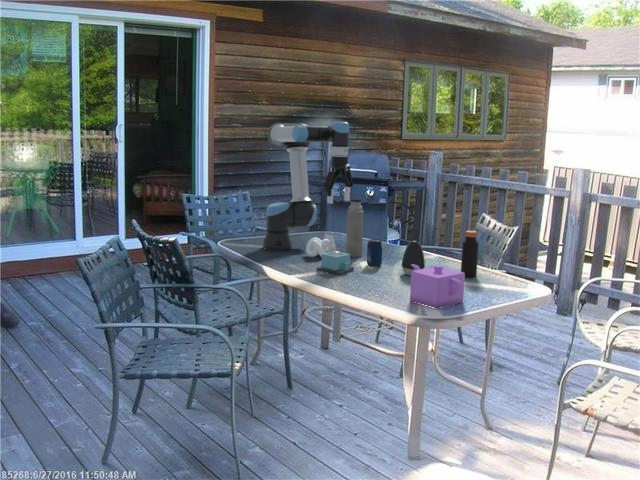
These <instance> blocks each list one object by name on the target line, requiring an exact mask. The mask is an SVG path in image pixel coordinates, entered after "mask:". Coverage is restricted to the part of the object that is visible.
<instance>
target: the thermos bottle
mask: <svg viewBox="0 0 640 480" xmlns="http://www.w3.org/2000/svg"><path fill="white" fill-rule="evenodd" d="M361 201H362V199H357V198H353V199H350V205H349V206H348V210H347V213H346V215H347V217H346V219H347V220H346V239H345V240H346V241H345V242H346V243H345V244H346V245H345V246H346V247H345V253H346V254H350V258H351V257H352V258H357V257H358V258H359V257H362V256H363V242H364V241H363V237H364V235H363V234H364V233H363V232H364V210H363V206H362V205H361V204H362V203H361Z"/></svg>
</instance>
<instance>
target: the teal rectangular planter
mask: <svg viewBox="0 0 640 480" xmlns="http://www.w3.org/2000/svg"><path fill="white" fill-rule="evenodd" d="M320 266H321V267H324V268H328V269H332V270H341V269H342V270H349V268H350V266H351V257H350V254H346V252H341V251H340V255H339V256H334V255H331V251H329V252H326V253H323V254H322V257H321V265H320Z"/></svg>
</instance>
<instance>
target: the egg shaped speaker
mask: <svg viewBox="0 0 640 480" xmlns="http://www.w3.org/2000/svg"><path fill="white" fill-rule="evenodd" d="M411 264H414V265H417V266H419V268H420V269H426V268H425V267H426V259H425V254H424V250H423V247H422V245H421V243H420V242H419V241H418V240H411V241H410V242H409V243H408V244H407V245H406V247H405V250H404V253H403V256H402V260H401V267H402V271H403V273H404V274H405V275H407V276H410V277H411V272H412V271H415V269H414V267H413V266H412V265H411Z"/></svg>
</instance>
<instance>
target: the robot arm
mask: <svg viewBox="0 0 640 480" xmlns="http://www.w3.org/2000/svg"><path fill="white" fill-rule="evenodd" d="M266 132H267V134H266V136H267V139H268V141H269V142H270V143H271V144H273V145H276V146H279V147H283V146H285V148H286V149H285V150H286V151H287V152H288V153H289V164H290V165H289V166H290V178H291V179H290V180H291V181H290V182H291V192H292V193H291V195H292V199H291V200H290V201H289V202H286V201H285V202H284V201H282V202H281V201H279V202H274V203H270V204H268V206H267V207H266V212H265V213H266V214H265V216H266V218H265V219H266V221H265V222H266V228H265V229H266V232H265V237H264V240H263V242H262V249H263V248H266V249H270V250H269V251H271V250H279V251H278V252H281V251H282V252H285V251H290V250H292V249H293V243H292V240H291V236H290V228H307V227H311V226H313V225H314V224H315V223H316V221H317V218H318V208H317V206H316V204H314V203H313V200H312V199H311V198H310V193H309V192H310V191H309V181H308V180H309V179H308V178H309V177H308V164H307V153H306V152H307V151H308V150H309V147H310V146H311V144H312V143H331V155H332V156H331V164H332V166H330V167H328V172H327V176H326V179H325V183H324V186H323V188H324V189H325V190H327V191H326V195H327V196H326V198H327V199H326V203H327V204H331V205H332V204H334V189H333V188H334V186H335V184H336V181H337V180H338V178H339V177H341V179H342V181H343V184H344V185H345V186H344V191H343V192H344V193H343V195H344V196H343V201H345V202H351V188H353V186H354V181H353V177H352V173H351V166H350V165H348V164H349V157H348V155H349V140H350V139H349V138H350V125H349V123H348V122H347V121H334V122H333V123H332V125H310V124H309V125H308V124H306V123H300V122H294V123H293V122H289V123H288V122H284V123H283V122H278V123H274V124H272V125H271V126H270V127H269V128H268V130H267V131H266ZM266 249H265V250H266ZM284 250H285V251H284Z"/></svg>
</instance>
